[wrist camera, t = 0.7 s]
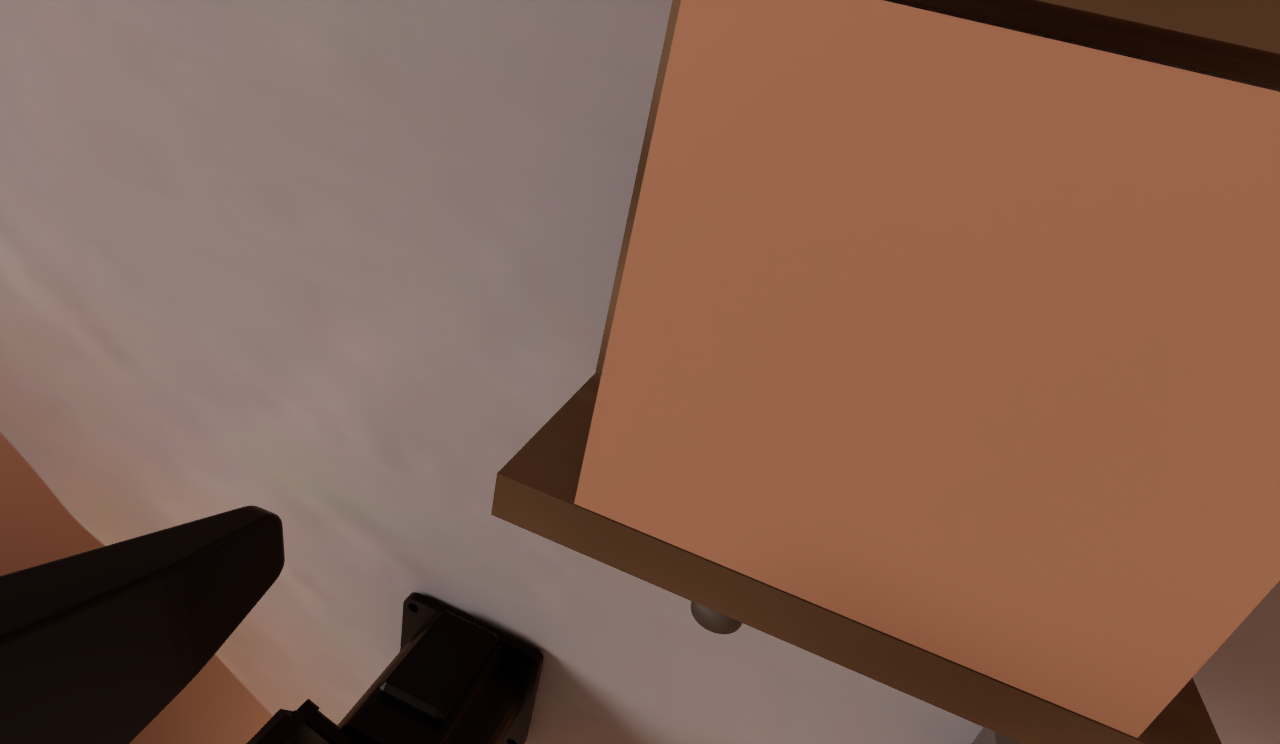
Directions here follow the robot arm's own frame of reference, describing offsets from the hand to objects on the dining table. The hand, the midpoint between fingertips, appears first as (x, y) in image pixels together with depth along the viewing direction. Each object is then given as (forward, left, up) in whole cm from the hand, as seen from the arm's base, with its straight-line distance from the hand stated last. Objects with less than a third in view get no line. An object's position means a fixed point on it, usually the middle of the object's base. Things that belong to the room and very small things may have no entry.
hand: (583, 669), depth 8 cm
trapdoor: (+3, -3, -11) cm, 11 cm away
